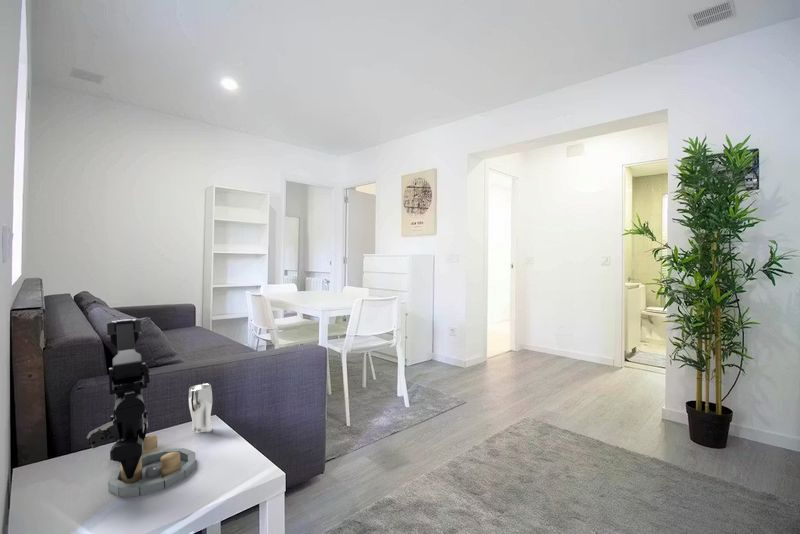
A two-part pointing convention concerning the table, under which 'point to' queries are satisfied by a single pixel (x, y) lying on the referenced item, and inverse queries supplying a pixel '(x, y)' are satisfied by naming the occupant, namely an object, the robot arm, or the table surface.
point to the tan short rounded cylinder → (170, 463)
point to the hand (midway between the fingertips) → (132, 469)
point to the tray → (153, 474)
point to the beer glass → (200, 407)
